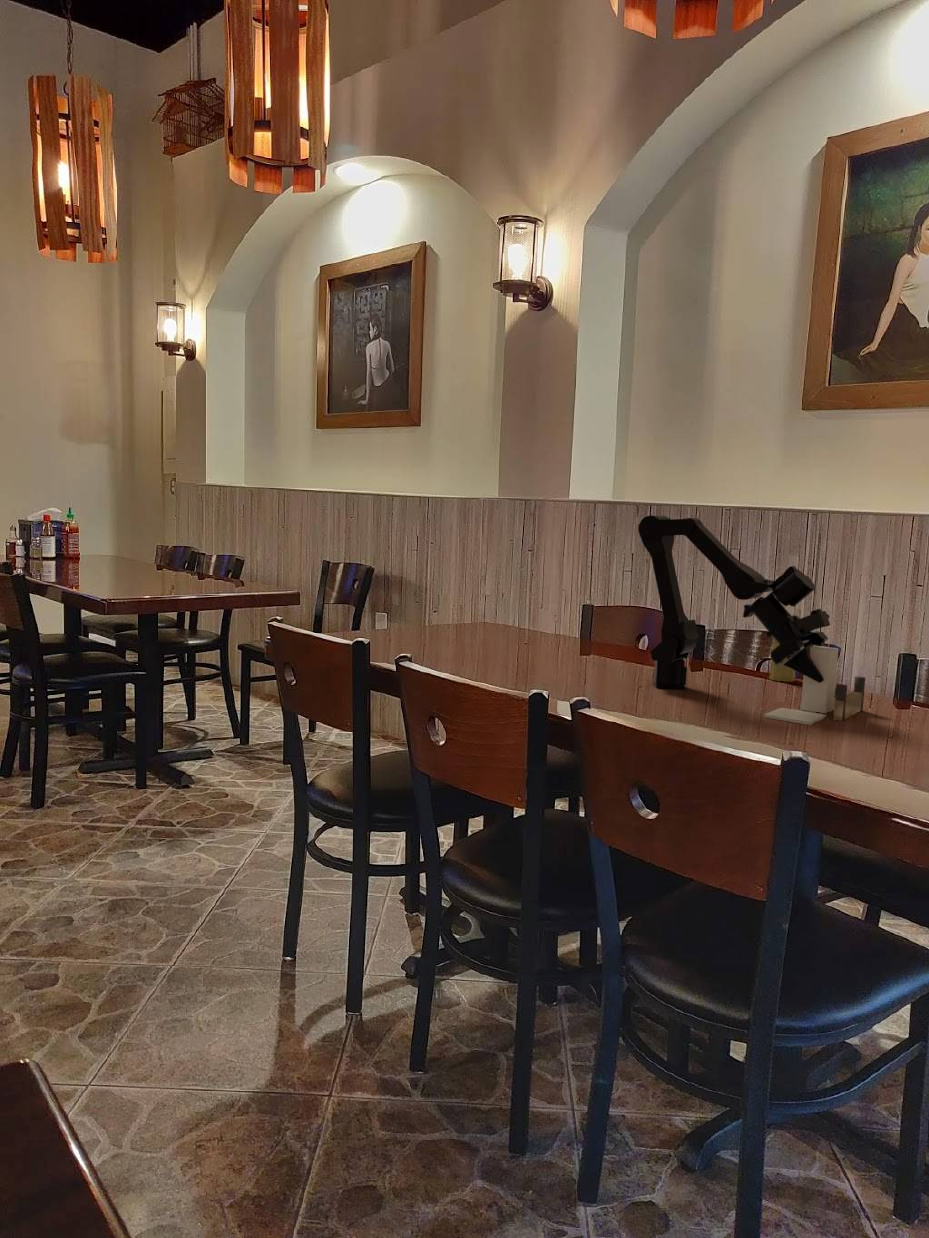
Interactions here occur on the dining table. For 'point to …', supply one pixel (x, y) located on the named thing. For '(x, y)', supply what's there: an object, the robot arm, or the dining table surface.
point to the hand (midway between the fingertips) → (826, 679)
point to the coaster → (795, 716)
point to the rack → (849, 699)
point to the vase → (781, 669)
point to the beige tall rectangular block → (823, 693)
